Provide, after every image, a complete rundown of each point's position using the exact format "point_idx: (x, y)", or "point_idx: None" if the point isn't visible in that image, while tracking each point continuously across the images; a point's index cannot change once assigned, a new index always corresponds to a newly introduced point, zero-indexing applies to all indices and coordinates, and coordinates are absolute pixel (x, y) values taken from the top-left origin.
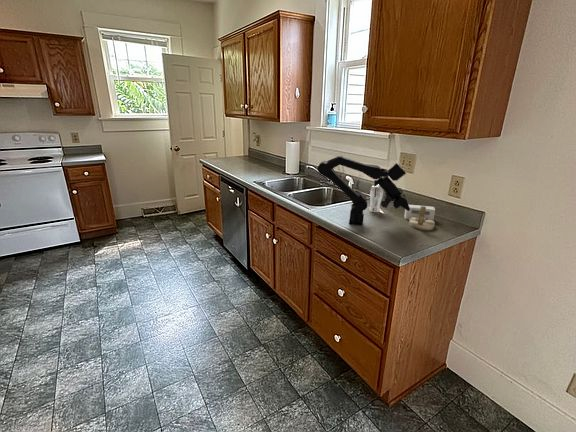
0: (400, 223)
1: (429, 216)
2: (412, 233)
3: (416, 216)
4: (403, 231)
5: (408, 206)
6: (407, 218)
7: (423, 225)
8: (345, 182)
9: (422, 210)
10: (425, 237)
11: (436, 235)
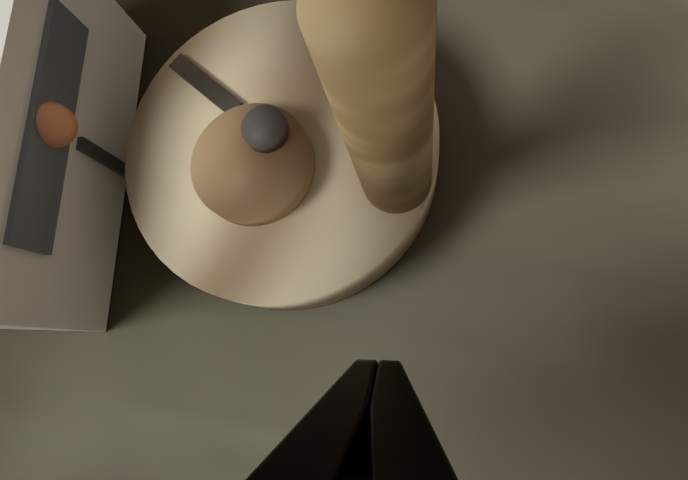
0: (258, 418)
1: (99, 37)
2: (593, 308)
3: (87, 191)
4: (560, 424)
5: (437, 443)
6: (99, 304)
7: (438, 143)
8: None
9: (432, 63)
10: (676, 165)
11: (552, 40)
